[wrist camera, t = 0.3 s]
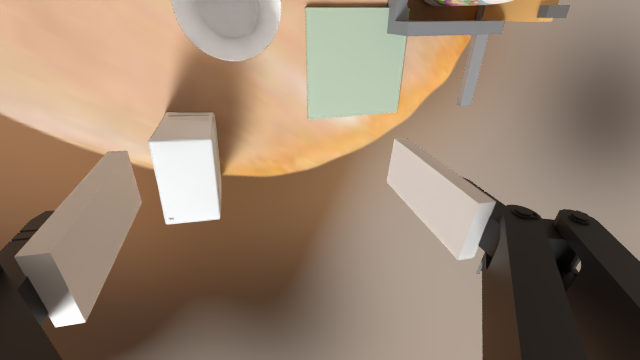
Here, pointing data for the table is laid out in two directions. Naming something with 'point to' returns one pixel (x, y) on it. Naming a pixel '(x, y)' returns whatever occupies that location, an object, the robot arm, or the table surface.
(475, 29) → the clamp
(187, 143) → the skincare box
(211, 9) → the cup
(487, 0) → the milk bottle
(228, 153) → the table surface
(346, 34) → the mat
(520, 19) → the tan wooden slab
